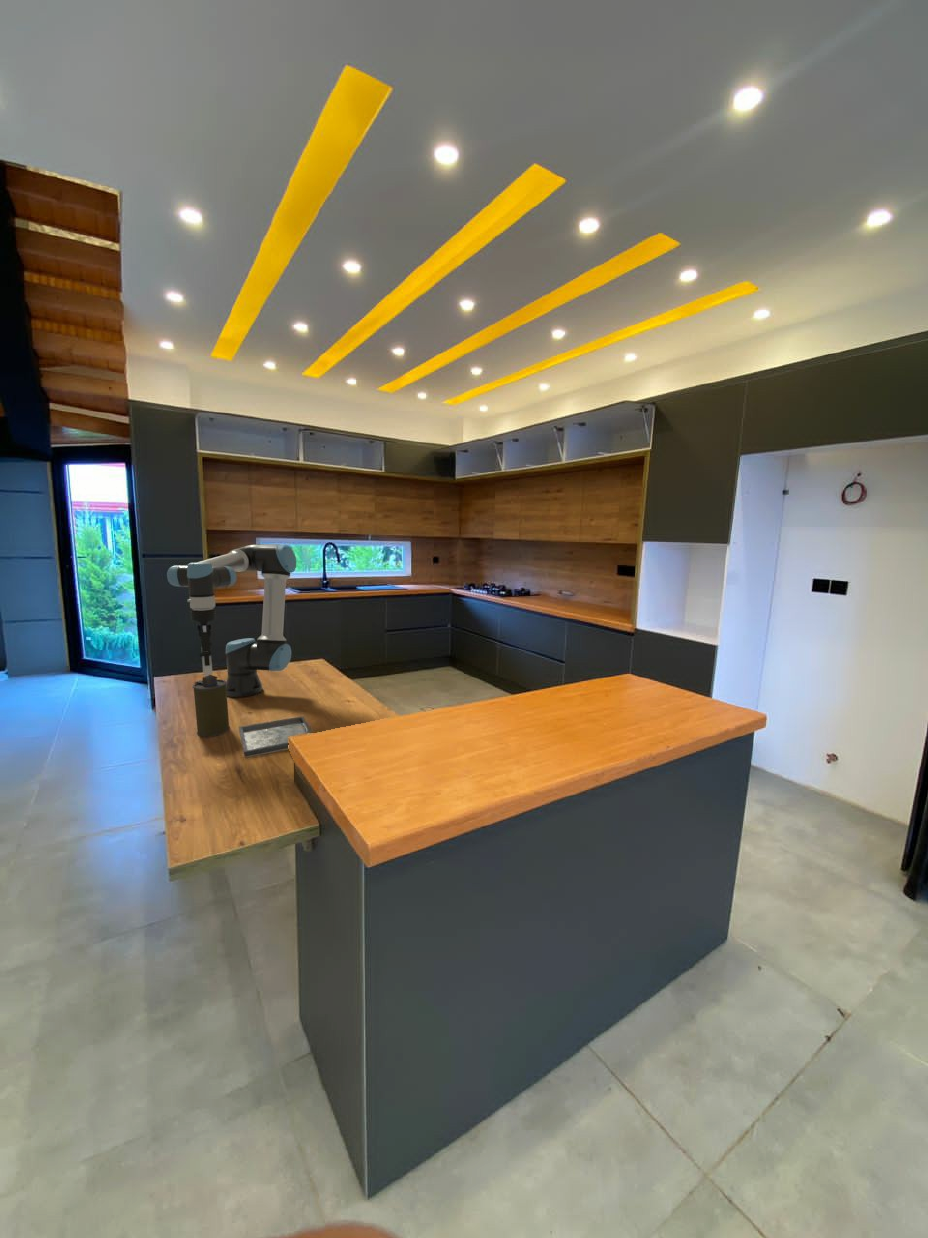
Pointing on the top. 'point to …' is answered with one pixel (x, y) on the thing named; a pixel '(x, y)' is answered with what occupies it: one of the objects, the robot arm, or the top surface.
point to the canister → (211, 706)
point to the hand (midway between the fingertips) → (207, 669)
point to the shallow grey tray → (271, 735)
